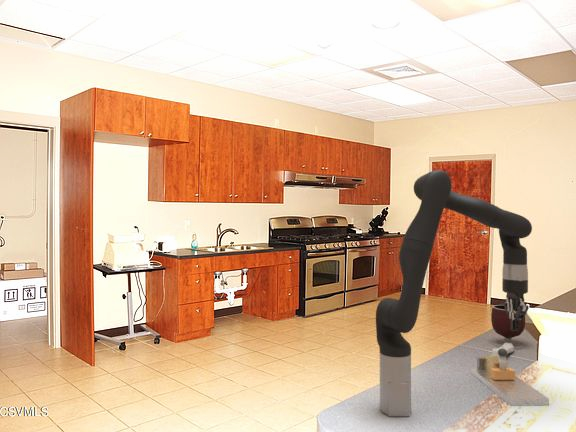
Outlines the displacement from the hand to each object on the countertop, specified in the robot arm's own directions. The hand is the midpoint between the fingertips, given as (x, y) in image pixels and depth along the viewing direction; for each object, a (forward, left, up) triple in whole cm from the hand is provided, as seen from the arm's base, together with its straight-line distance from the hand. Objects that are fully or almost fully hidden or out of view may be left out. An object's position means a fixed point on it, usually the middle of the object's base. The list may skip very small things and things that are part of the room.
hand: (515, 330), depth 153 cm
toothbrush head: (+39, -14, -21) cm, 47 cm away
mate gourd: (+58, -26, -21) cm, 67 cm away
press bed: (+6, 0, -21) cm, 22 cm away
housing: (+14, 0, -19) cm, 23 cm away
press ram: (+9, 0, -18) cm, 20 cm away
